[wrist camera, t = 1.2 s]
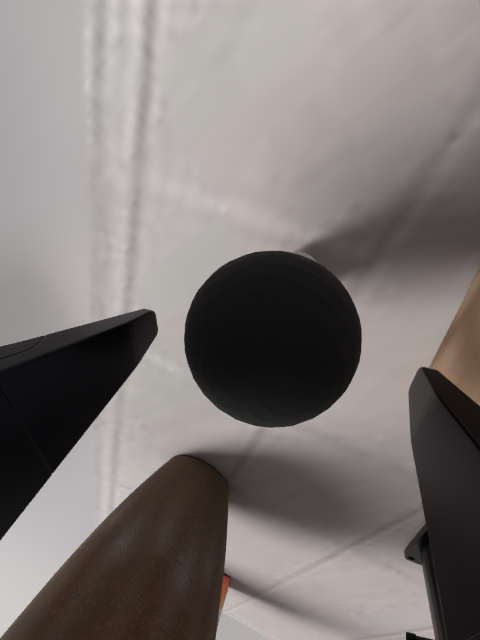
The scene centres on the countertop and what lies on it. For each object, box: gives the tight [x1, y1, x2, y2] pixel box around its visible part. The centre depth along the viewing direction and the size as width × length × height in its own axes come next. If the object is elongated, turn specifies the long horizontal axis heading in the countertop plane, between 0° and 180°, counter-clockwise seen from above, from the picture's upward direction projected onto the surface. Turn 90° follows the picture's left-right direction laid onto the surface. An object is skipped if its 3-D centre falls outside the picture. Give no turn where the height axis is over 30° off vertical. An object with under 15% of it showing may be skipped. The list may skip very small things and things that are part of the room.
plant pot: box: [0, 456, 228, 640], centre depth 25 cm, size 15×15×16 cm
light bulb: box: [184, 251, 362, 428], centre depth 11 cm, size 6×6×10 cm
